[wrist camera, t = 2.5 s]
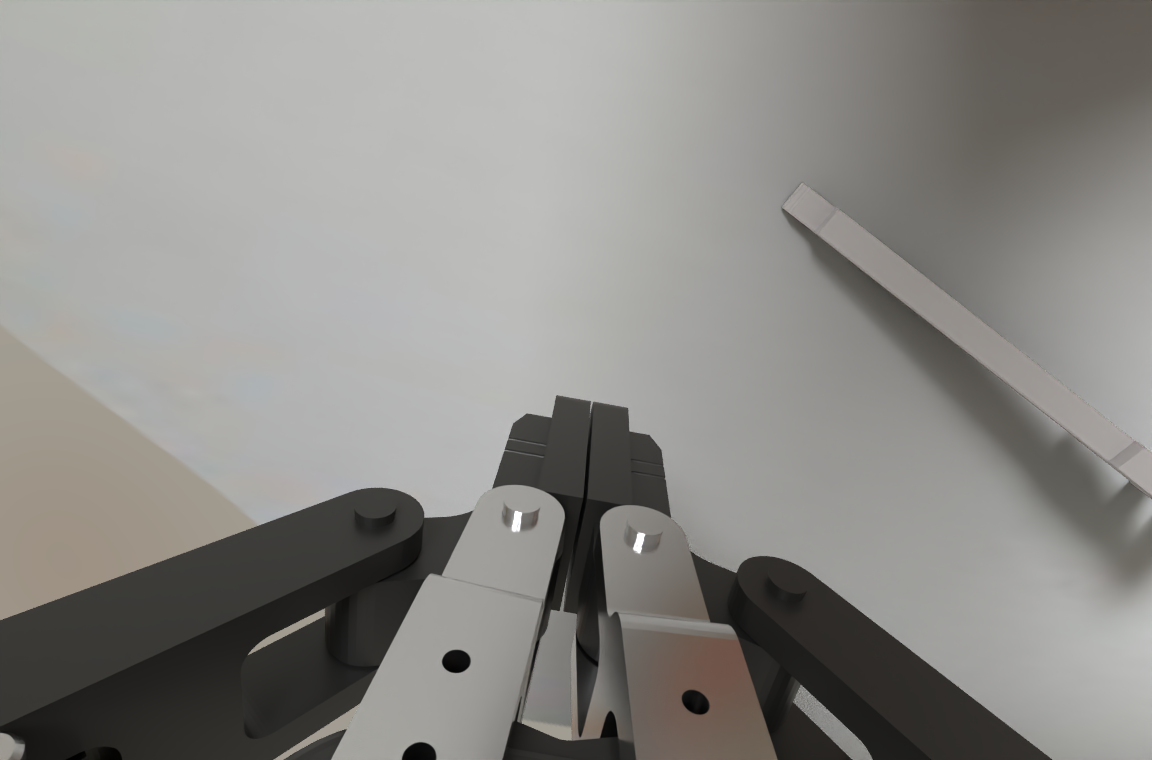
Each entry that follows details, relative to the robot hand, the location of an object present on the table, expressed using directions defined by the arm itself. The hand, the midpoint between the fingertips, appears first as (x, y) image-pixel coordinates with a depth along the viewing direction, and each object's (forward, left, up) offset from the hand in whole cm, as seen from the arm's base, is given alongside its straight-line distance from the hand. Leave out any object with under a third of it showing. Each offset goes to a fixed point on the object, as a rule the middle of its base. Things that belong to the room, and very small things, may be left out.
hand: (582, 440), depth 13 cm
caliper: (0, +15, -11) cm, 19 cm away
